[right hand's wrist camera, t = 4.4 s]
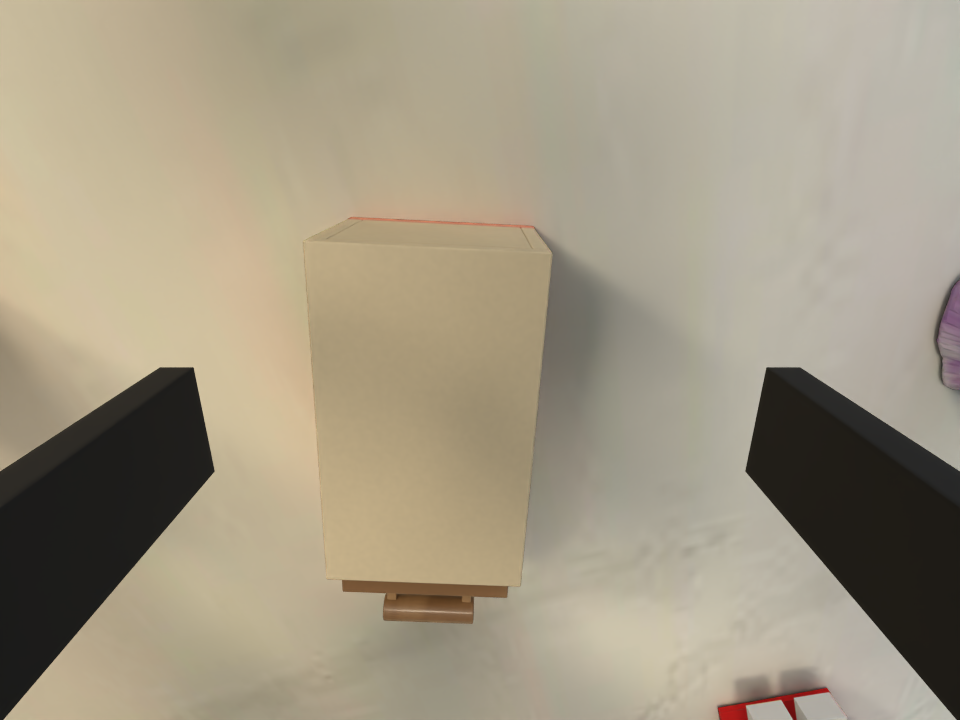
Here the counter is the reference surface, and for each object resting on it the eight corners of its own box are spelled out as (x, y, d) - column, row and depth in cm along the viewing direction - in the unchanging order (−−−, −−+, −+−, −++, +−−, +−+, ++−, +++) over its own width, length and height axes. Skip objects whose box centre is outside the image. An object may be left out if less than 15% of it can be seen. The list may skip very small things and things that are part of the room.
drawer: (497, 576, 40) (501, 665, 33) (369, 571, 40) (346, 659, 33) (520, 275, 32) (531, 309, 25) (360, 268, 31) (325, 299, 25)
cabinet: (511, 490, 38) (520, 587, 29) (361, 483, 38) (325, 580, 29) (533, 226, 32) (553, 252, 23) (351, 217, 31) (302, 240, 23)
